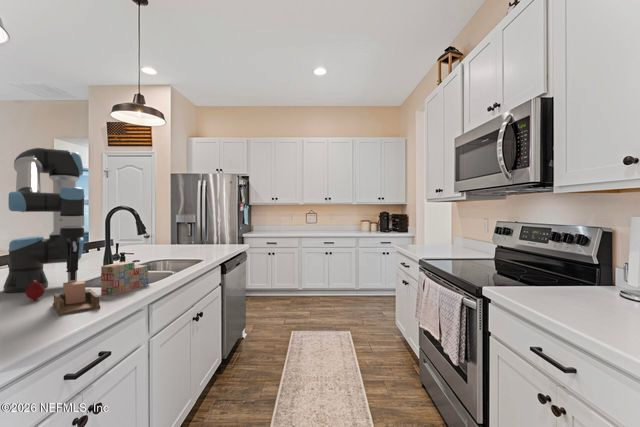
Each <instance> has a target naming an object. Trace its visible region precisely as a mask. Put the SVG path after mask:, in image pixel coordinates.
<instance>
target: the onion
mask: <svg viewBox="0 0 640 427" xmlns="http://www.w3.org/2000/svg"><path fill="white" fill-rule="evenodd" d="M45 289H46V288H44V287H43V285H42V284H40V283H38V282H37V281H36V280H34V281H33V283H32V284H30V285H29V286H28V287H27V288H26V290H25V292H24V293H25V296H26V297H27V298H28V299H30V300H33V301H37V300H38V299H40V298H41V297H42V296H43V295H44V294H45V291H46V290H45Z"/></svg>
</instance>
